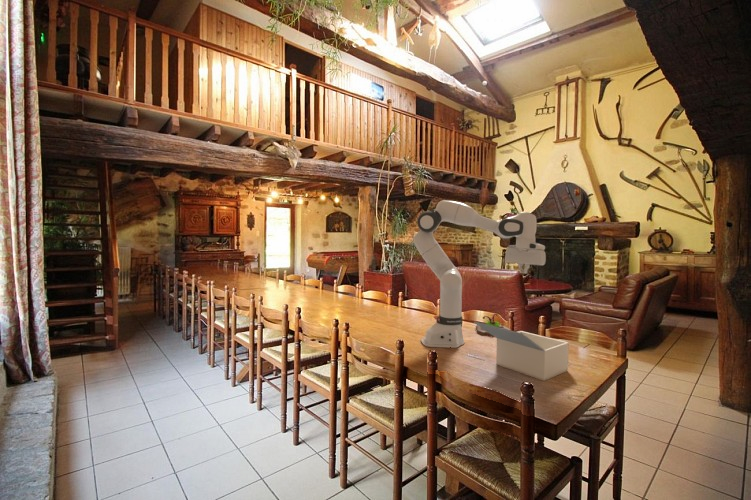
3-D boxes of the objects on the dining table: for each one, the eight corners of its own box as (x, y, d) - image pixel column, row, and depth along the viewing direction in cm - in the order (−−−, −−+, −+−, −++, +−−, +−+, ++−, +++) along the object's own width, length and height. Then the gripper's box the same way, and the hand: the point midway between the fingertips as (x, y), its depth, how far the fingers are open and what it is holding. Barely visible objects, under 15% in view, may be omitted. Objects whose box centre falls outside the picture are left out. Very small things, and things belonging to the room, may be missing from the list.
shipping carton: (520, 355, 168) (521, 330, 168) (568, 370, 150) (568, 342, 150) (496, 364, 158) (496, 337, 157) (544, 381, 140) (544, 351, 139)
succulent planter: (513, 338, 198) (513, 318, 197) (476, 336, 202) (477, 316, 201) (508, 329, 217) (508, 310, 216) (475, 327, 221) (475, 309, 221)
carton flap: (473, 321, 148) (473, 322, 148) (522, 333, 130) (521, 334, 130) (496, 336, 157) (496, 337, 157) (544, 350, 139) (544, 351, 139)
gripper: (503, 244, 183) (501, 271, 183) (541, 245, 166) (538, 275, 166) (510, 245, 186) (508, 271, 186) (548, 246, 169) (546, 275, 169)
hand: (523, 273), depth 176 cm, fingers closed
